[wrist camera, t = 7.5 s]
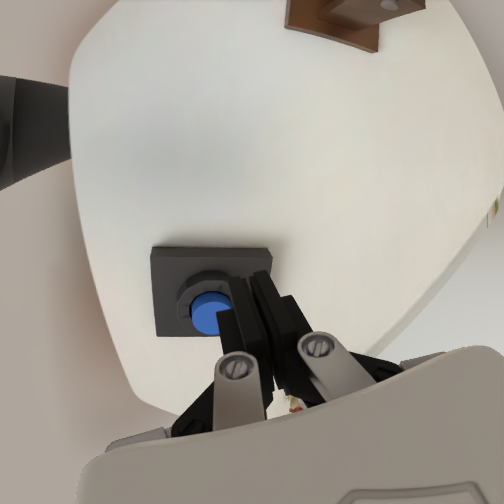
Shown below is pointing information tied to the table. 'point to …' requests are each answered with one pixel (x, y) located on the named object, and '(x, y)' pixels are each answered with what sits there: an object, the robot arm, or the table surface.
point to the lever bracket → (347, 18)
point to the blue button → (208, 311)
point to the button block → (196, 281)
